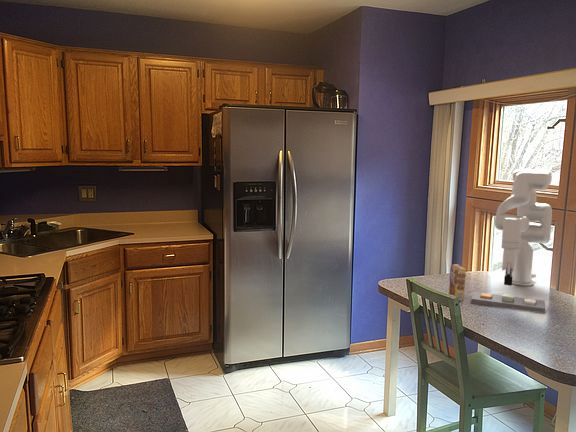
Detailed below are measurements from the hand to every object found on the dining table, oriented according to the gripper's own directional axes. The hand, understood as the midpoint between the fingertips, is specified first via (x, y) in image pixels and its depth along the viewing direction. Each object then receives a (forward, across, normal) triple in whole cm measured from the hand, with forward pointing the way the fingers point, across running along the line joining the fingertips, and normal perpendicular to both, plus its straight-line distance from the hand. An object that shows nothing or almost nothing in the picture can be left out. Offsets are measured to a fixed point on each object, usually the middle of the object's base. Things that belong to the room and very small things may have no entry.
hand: (507, 284), depth 216 cm
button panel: (+9, 0, 0) cm, 9 cm away
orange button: (+8, 0, -9) cm, 12 cm away
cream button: (+8, 0, +9) cm, 12 cm away
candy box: (+9, +2, -22) cm, 24 cm away
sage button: (+7, 0, 0) cm, 7 cm away
